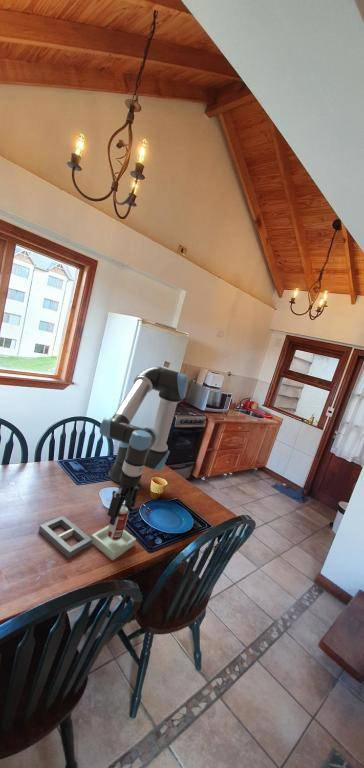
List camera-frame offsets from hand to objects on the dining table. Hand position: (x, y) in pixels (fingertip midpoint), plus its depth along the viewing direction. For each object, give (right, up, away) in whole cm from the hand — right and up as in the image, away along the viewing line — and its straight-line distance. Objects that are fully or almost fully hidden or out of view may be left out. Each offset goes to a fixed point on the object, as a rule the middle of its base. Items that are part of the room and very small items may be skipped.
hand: (116, 527), depth 116 cm
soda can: (-1, -4, +1) cm, 4 cm away
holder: (-19, -2, -3) cm, 19 cm away
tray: (-2, -7, +1) cm, 7 cm away
